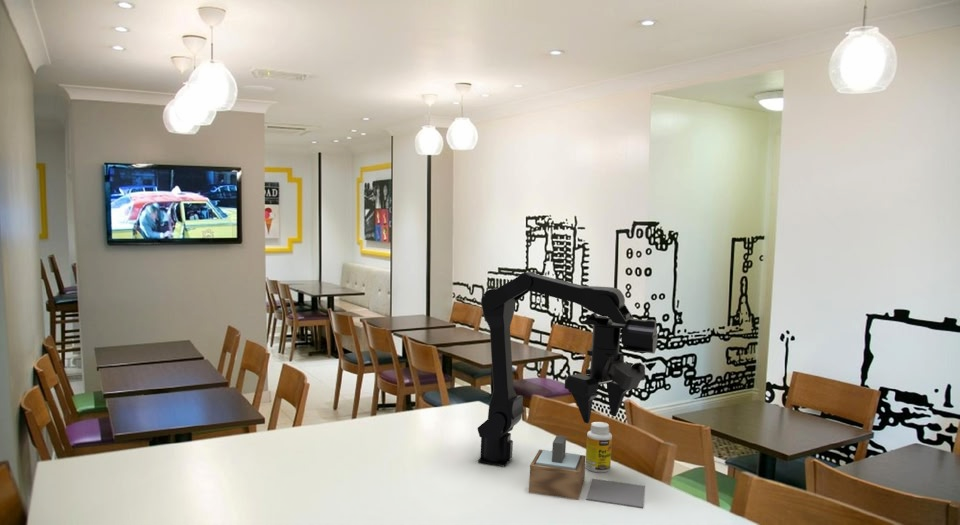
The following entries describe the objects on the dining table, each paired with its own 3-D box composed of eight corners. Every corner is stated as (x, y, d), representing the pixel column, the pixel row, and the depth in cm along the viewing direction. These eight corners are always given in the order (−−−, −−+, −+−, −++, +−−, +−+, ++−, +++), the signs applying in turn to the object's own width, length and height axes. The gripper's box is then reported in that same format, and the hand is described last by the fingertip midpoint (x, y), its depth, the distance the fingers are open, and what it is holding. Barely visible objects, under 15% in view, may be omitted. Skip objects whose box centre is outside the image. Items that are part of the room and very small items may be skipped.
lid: (535, 467, 134) (536, 443, 133) (542, 454, 141) (543, 431, 141) (575, 472, 131) (576, 448, 131) (580, 459, 139) (581, 436, 139)
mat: (586, 499, 130) (586, 498, 130) (592, 479, 141) (592, 478, 141) (643, 508, 127) (643, 506, 127) (644, 487, 138) (644, 485, 138)
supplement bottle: (597, 475, 144) (599, 429, 143) (580, 466, 148) (582, 422, 148) (615, 470, 147) (617, 425, 146) (598, 462, 151) (600, 419, 151)
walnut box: (528, 492, 133) (530, 465, 133) (538, 474, 143) (539, 449, 142) (578, 499, 130) (579, 472, 130) (584, 481, 140) (585, 455, 140)
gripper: (608, 359, 127) (603, 438, 128) (663, 350, 139) (657, 422, 140) (565, 348, 135) (560, 422, 136) (620, 341, 147) (615, 409, 148)
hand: (600, 419), depth 140 cm, fingers open, 9 cm apart
